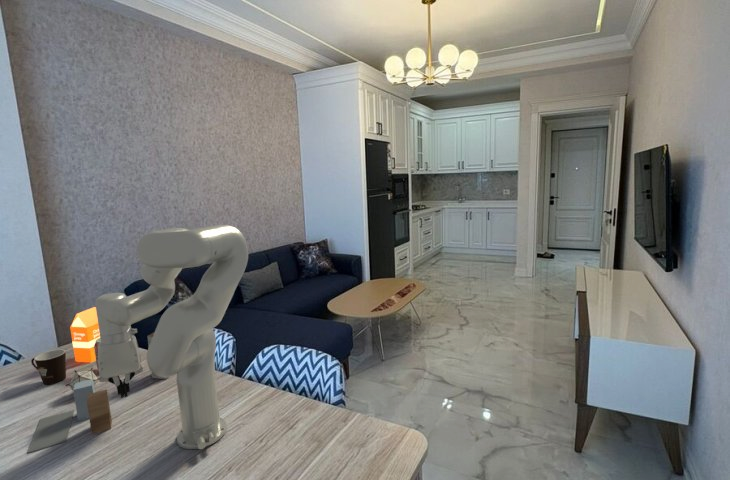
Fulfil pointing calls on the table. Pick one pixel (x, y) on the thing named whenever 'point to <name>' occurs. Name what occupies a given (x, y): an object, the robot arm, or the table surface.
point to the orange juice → (85, 335)
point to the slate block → (83, 397)
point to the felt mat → (51, 431)
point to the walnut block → (99, 411)
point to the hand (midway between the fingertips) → (124, 395)
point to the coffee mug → (51, 366)
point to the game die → (83, 377)
